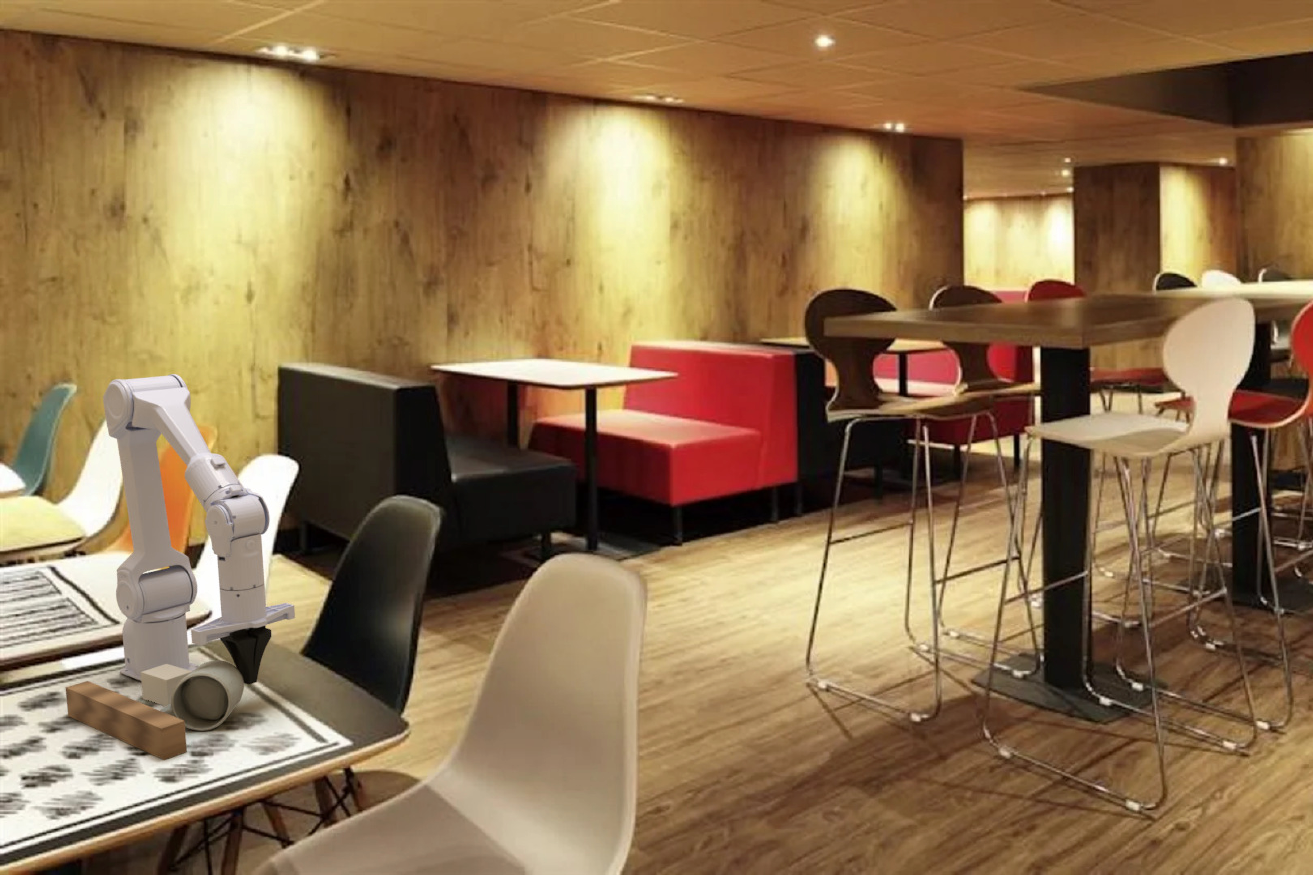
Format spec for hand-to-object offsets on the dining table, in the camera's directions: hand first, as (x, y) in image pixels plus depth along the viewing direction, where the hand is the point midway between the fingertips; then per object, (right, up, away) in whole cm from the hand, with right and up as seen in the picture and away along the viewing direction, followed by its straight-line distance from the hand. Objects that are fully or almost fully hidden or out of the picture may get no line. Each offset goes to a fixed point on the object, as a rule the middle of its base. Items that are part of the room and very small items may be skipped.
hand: (248, 682), depth 159 cm
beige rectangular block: (-13, -3, +4) cm, 13 cm away
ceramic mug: (-5, -4, -5) cm, 8 cm away
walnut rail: (-13, -5, -8) cm, 16 cm away
